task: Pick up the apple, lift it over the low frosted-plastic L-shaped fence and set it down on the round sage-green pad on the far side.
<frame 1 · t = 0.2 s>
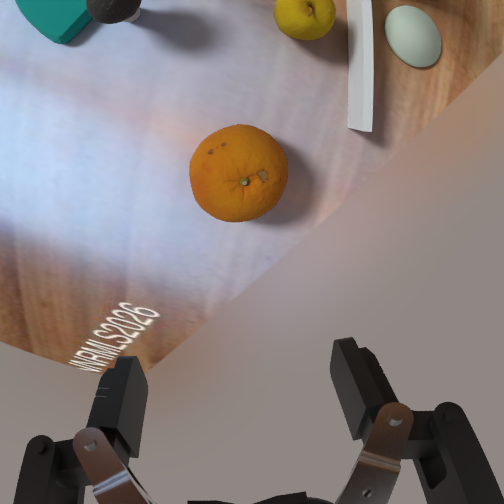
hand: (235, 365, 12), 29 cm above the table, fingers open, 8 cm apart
apple: (295, 22, 30), on the table
light bulb: (132, 15, 27), on the table
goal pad: (413, 36, 30), on the table
fruit: (237, 166, 37), on the table
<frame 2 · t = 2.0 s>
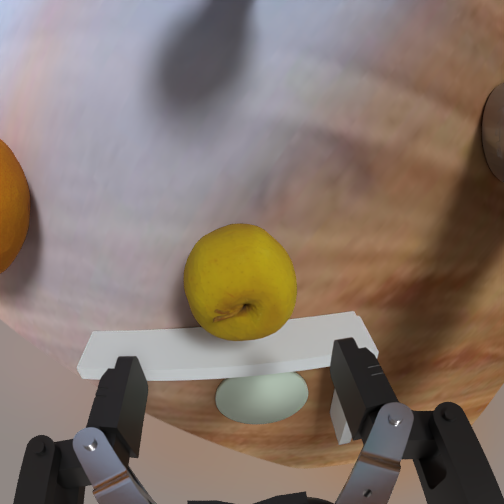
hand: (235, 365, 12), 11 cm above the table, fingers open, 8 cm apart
apple: (237, 249, 22), on the table
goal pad: (261, 395, 29), on the table
fence: (353, 316, 25), on the table
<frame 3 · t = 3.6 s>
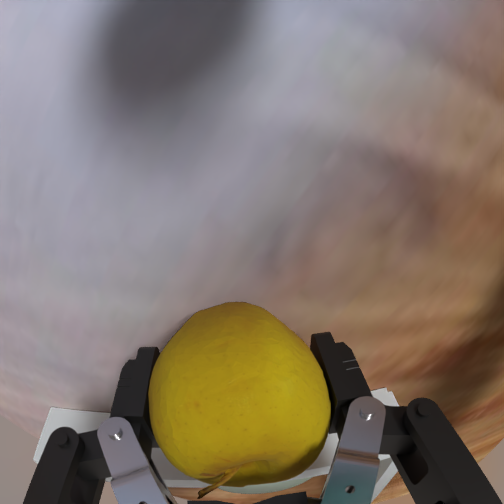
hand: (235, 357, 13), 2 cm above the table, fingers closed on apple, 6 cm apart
apple: (232, 328, 14), on the table, touching gripper
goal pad: (263, 470, 21), on the table
fence: (383, 393, 18), on the table
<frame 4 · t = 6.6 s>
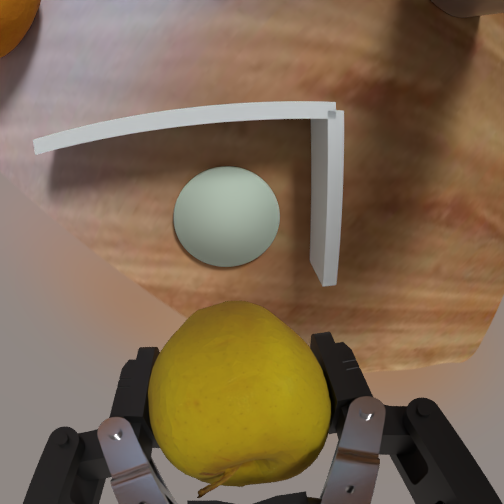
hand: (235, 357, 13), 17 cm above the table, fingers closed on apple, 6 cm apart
apple: (232, 327, 14), point 15 cm above the table, touching gripper
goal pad: (226, 217, 27), on the table
fruit: (12, 16, 16), on the table
fence: (317, 108, 24), on the table
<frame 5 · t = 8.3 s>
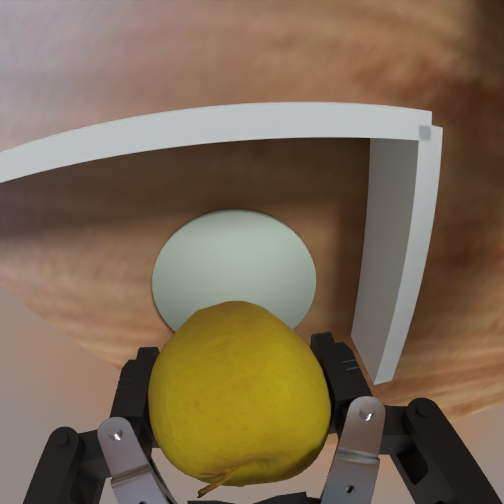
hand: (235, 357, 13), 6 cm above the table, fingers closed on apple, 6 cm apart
apple: (232, 327, 14), point 4 cm above the table, touching gripper
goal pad: (234, 286, 18), on the table
fence: (380, 116, 14), on the table
when the fingers open (4 cm above the table, at t = 9.7 s): apple drops 2 cm, resting on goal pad.
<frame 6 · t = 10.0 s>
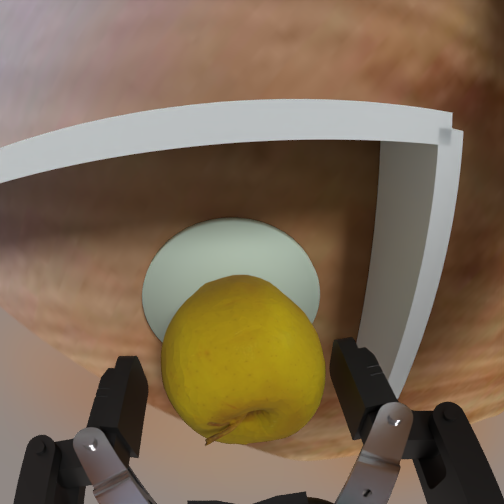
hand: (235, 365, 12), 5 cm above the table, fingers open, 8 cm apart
apple: (236, 302, 16), resting on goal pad
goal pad: (231, 300, 16), on the table
fence: (392, 116, 13), on the table
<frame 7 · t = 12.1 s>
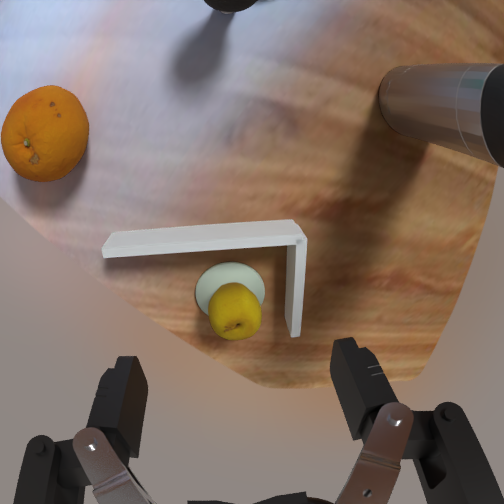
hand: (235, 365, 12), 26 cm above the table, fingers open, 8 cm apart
apple: (232, 292, 42), resting on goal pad
light bulb: (227, 7, 27), on the table
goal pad: (230, 291, 42), on the table
fruit: (60, 130, 30), on the table
fence: (292, 224, 39), on the table
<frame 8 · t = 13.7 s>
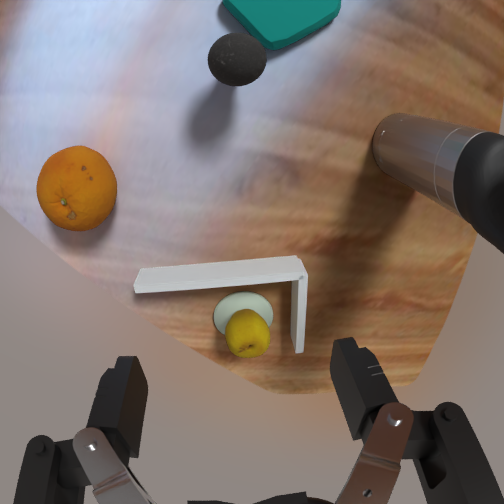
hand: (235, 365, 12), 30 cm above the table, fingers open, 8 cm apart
apple: (245, 316, 48), resting on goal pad
light bulb: (234, 67, 33), on the table
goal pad: (243, 315, 49), on the table
fruit: (88, 180, 37), on the table
fence: (296, 259, 45), on the table
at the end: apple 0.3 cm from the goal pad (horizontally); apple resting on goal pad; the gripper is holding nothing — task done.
